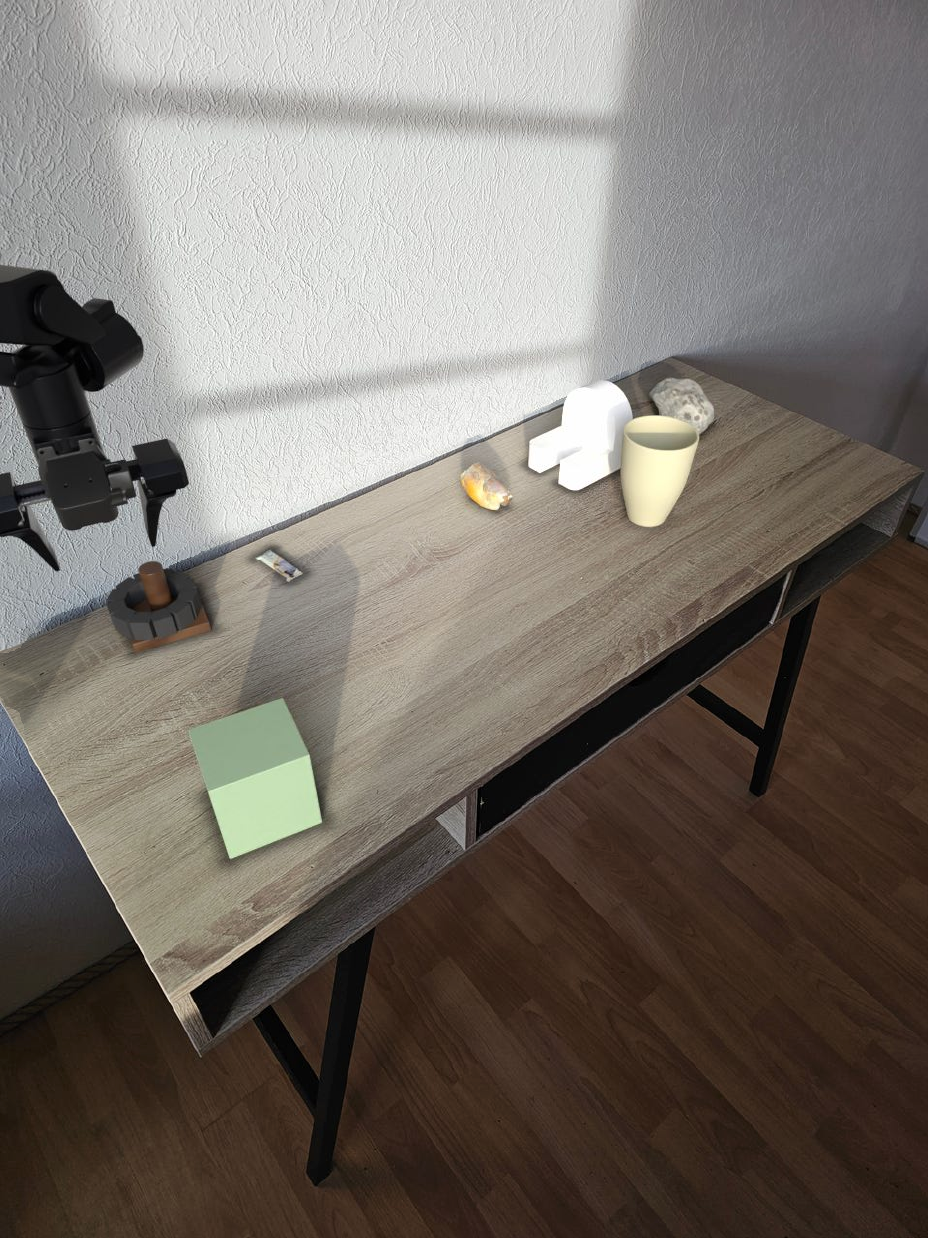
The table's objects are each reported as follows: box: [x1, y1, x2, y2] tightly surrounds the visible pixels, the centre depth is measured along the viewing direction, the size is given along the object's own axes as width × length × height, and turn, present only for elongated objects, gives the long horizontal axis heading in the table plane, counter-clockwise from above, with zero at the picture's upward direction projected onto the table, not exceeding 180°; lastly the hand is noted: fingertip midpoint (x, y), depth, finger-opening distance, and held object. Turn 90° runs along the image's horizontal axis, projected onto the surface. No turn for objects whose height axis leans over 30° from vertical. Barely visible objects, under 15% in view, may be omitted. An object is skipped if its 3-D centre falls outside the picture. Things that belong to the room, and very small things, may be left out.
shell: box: [460, 462, 514, 511], centre depth 107 cm, size 8×4×5 cm, turn 49°
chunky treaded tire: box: [105, 568, 203, 640], centre depth 89 cm, size 9×9×2 cm
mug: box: [620, 414, 700, 528], centre depth 103 cm, size 11×10×12 cm
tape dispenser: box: [527, 379, 634, 491], centre depth 114 cm, size 10×18×11 cm, turn 131°
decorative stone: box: [648, 377, 715, 435], centre depth 125 cm, size 12×11×5 cm
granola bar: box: [255, 549, 304, 583], centre depth 98 cm, size 7×2×1 cm, turn 46°
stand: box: [130, 560, 212, 654], centre depth 88 cm, size 8×8×7 cm
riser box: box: [187, 697, 323, 860], centre depth 68 cm, size 8×7×9 cm
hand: (106, 556), depth 83 cm, fingers open, 9 cm apart
